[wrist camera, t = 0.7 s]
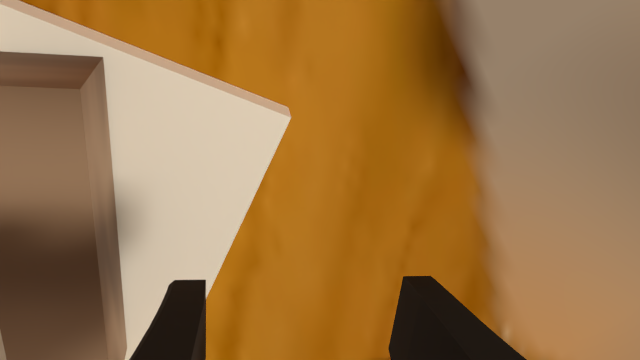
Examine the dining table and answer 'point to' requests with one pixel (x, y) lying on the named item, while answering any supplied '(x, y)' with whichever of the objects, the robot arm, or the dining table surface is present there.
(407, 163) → the dining table surface
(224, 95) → the seat board
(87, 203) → the leg
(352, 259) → the dining table surface
